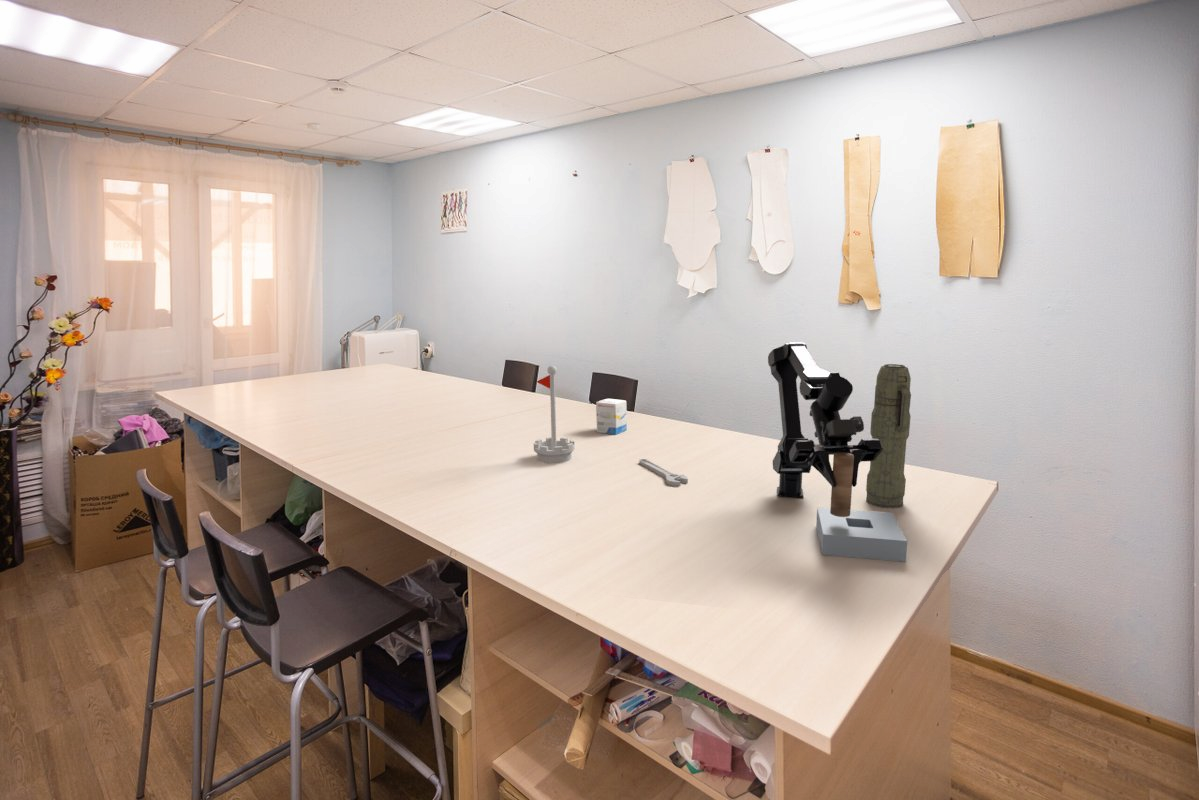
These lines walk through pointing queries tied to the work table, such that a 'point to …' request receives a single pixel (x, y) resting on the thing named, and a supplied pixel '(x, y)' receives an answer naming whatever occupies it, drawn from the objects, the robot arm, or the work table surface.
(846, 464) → the pin
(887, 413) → the thermos
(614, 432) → the ink box
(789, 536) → the work table surface
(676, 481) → the adjustable wrench
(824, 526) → the hole block
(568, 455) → the flag stand
